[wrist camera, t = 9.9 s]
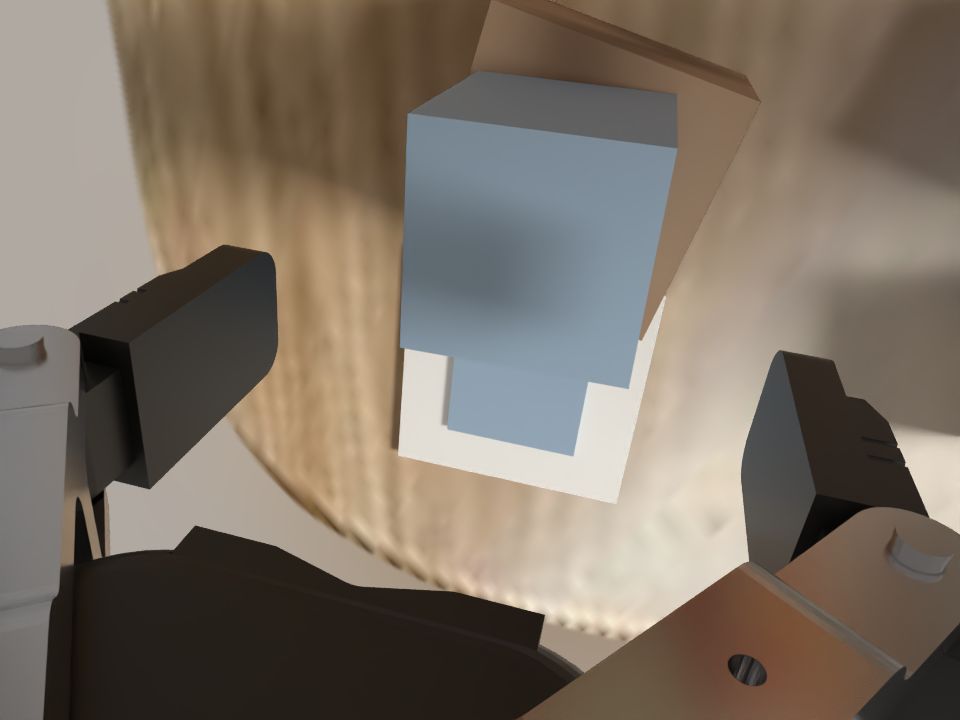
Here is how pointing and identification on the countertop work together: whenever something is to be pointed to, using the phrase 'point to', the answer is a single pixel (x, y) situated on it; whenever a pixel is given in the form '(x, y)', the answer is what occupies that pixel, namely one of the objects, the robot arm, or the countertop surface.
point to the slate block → (535, 223)
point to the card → (523, 421)
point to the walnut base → (641, 66)
